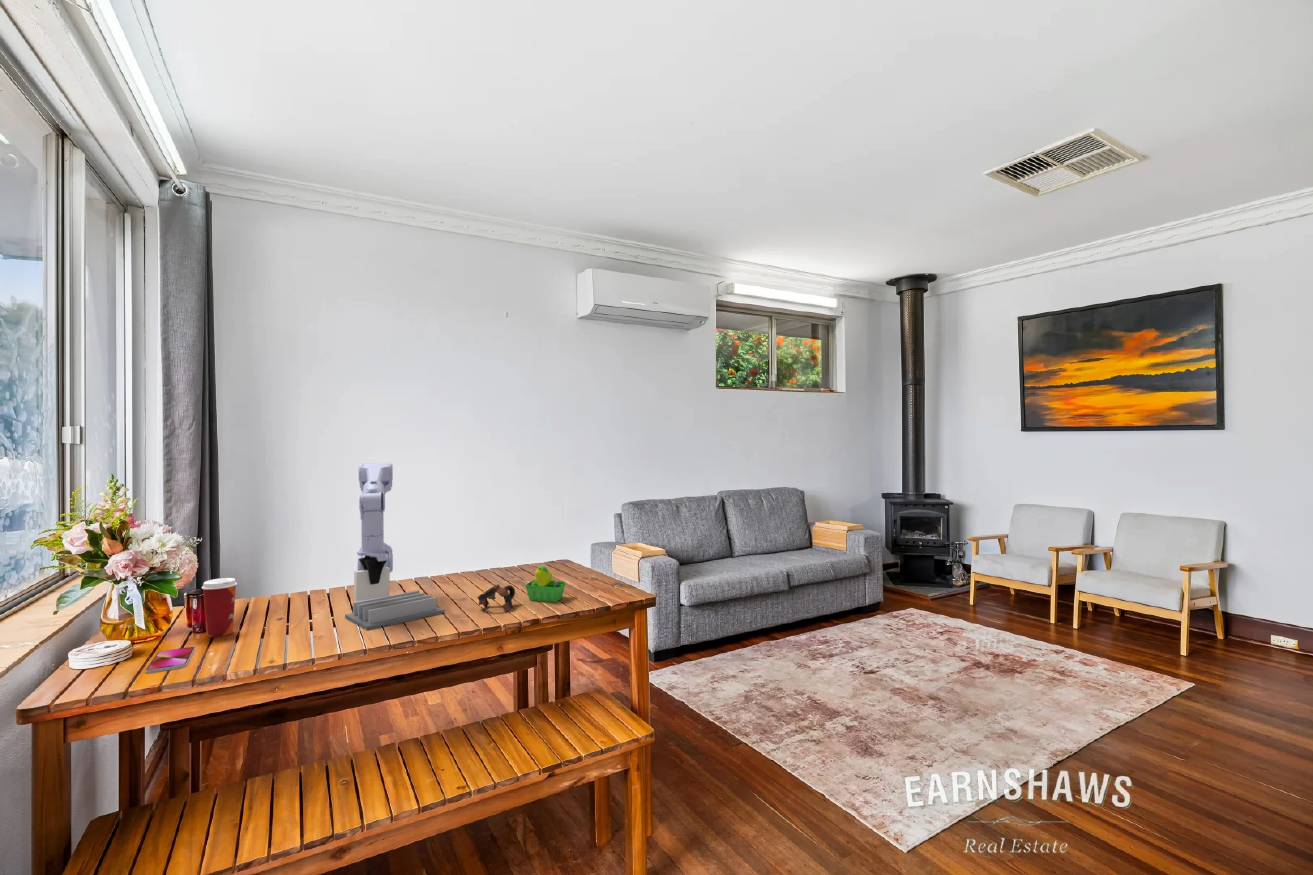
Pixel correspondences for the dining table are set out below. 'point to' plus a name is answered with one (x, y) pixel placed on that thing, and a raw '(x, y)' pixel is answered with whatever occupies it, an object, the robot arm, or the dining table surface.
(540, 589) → the fruit basket
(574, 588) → the dining table surface
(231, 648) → the dining table surface
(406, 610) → the dish rack
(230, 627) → the paper cup
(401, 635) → the dining table surface
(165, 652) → the smartphone
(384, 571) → the cream plate
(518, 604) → the dining table surface
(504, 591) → the dark brown curved piece
